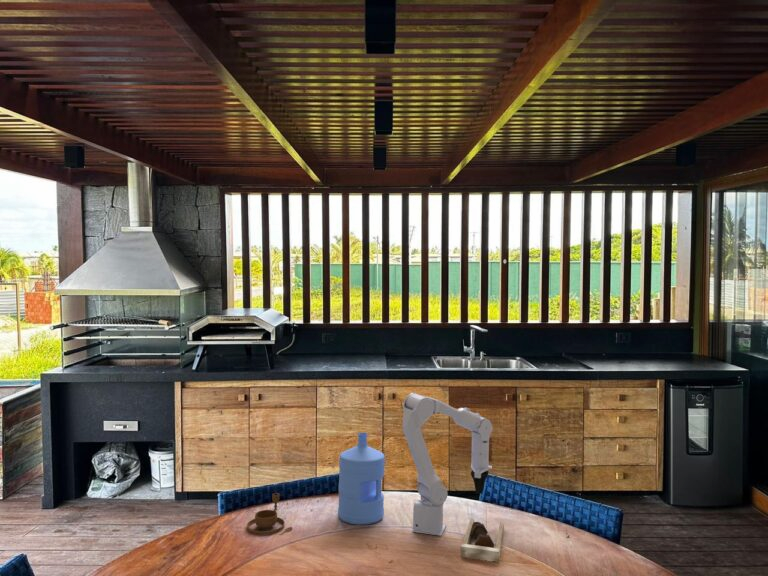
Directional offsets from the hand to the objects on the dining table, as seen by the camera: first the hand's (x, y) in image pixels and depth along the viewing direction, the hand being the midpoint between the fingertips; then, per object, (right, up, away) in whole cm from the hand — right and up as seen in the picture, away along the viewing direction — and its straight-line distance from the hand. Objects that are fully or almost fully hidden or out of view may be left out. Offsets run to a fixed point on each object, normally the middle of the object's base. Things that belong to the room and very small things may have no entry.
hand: (479, 492), depth 183 cm
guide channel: (-2, -9, -16) cm, 18 cm away
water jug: (-40, -9, +2) cm, 41 cm away
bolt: (-2, -10, -16) cm, 19 cm away
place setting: (-69, -9, -5) cm, 69 cm away
